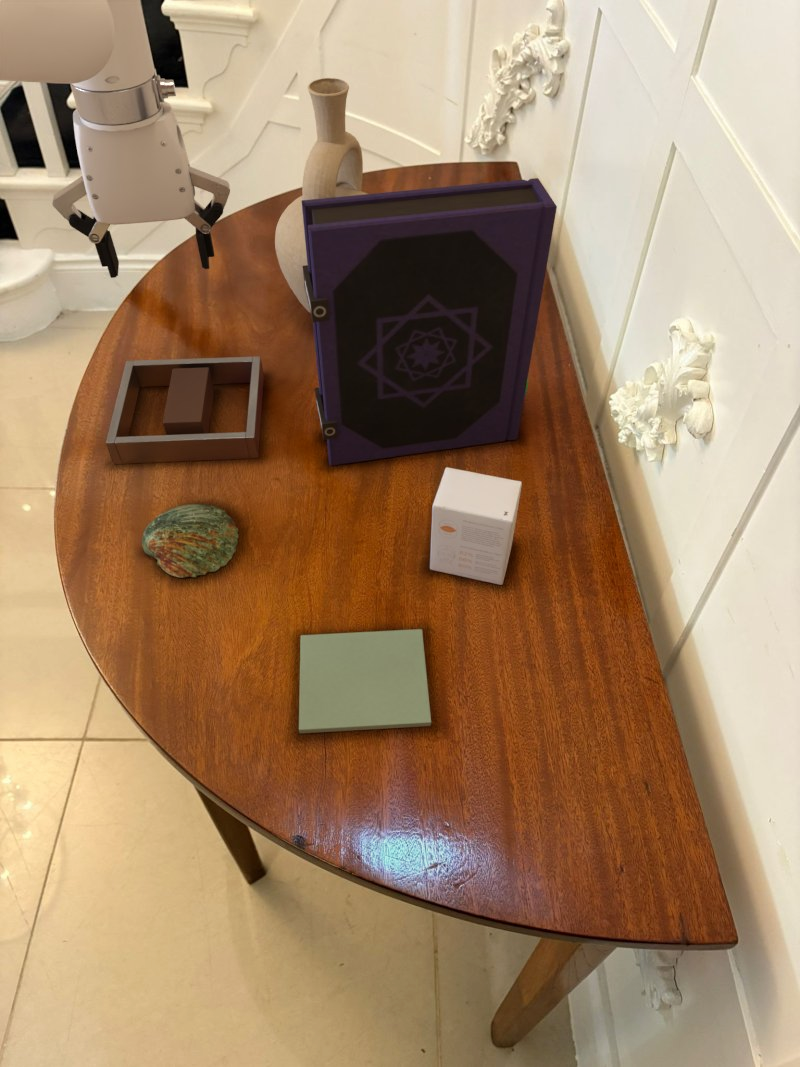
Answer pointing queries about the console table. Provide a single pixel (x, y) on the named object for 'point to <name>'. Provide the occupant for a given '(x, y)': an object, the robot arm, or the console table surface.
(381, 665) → the mat
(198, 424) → the brown rectangular block
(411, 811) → the console table surface
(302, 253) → the vase
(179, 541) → the seashell
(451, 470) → the small box
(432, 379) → the book
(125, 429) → the rectangular frame
